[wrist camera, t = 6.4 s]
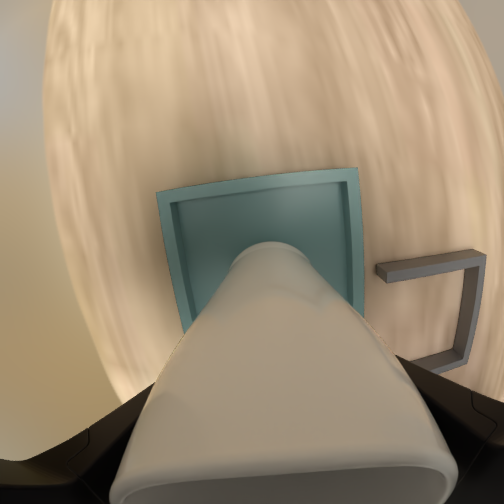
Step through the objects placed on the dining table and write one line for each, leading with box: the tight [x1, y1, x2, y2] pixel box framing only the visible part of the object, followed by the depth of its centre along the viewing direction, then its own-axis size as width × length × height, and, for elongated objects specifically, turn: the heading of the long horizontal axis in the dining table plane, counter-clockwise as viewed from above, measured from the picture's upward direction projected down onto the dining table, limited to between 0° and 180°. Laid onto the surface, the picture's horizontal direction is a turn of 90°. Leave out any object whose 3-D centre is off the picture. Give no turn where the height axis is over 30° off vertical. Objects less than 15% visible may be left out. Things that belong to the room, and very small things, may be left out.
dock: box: [377, 249, 486, 374], centre depth 20 cm, size 11×10×2 cm
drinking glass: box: [109, 241, 458, 504], centre depth 10 cm, size 7×7×15 cm
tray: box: [156, 168, 364, 334], centre depth 19 cm, size 13×13×2 cm
